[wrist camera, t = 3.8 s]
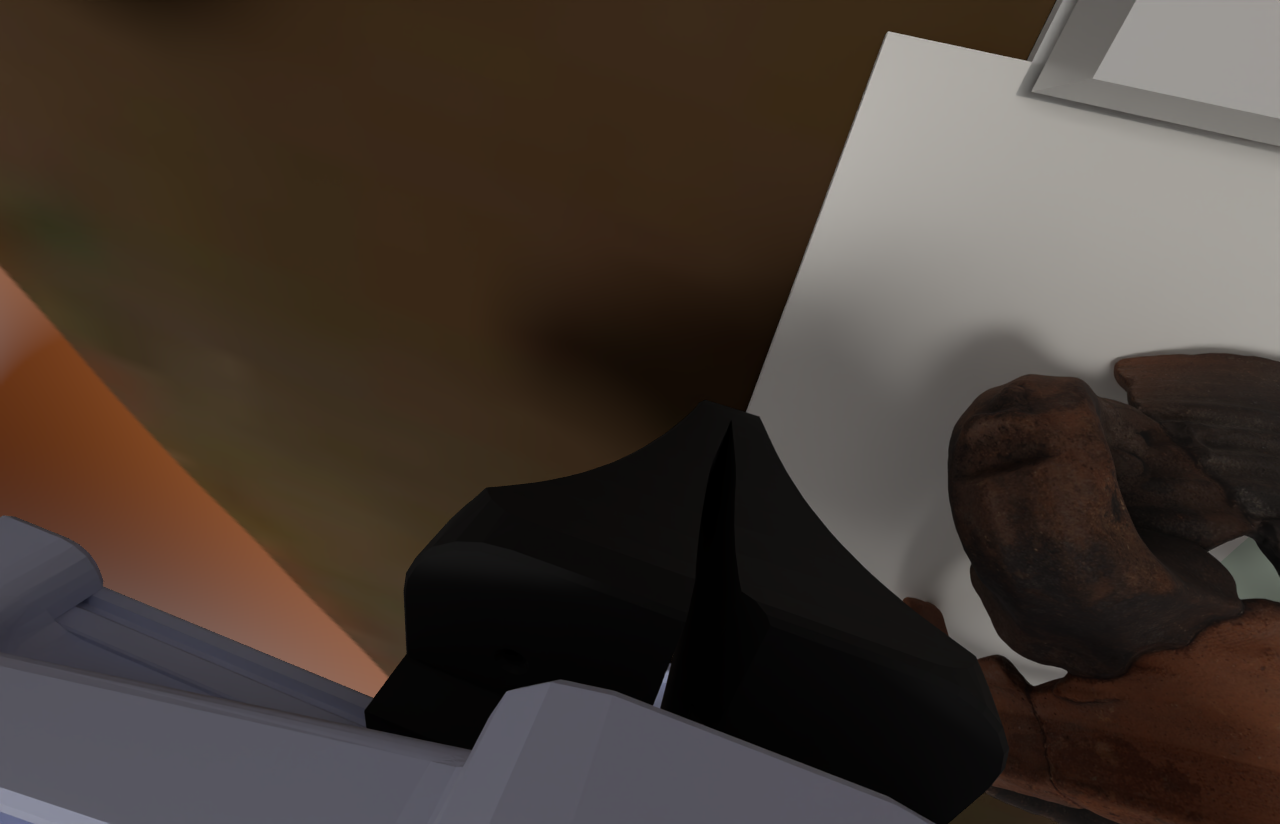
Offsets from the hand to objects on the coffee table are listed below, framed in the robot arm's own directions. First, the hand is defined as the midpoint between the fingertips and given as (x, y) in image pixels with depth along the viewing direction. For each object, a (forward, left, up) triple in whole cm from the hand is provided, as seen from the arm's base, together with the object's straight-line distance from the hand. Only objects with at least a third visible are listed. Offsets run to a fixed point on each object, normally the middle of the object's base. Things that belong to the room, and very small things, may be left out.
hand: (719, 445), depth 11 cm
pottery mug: (0, -8, -2) cm, 9 cm away
